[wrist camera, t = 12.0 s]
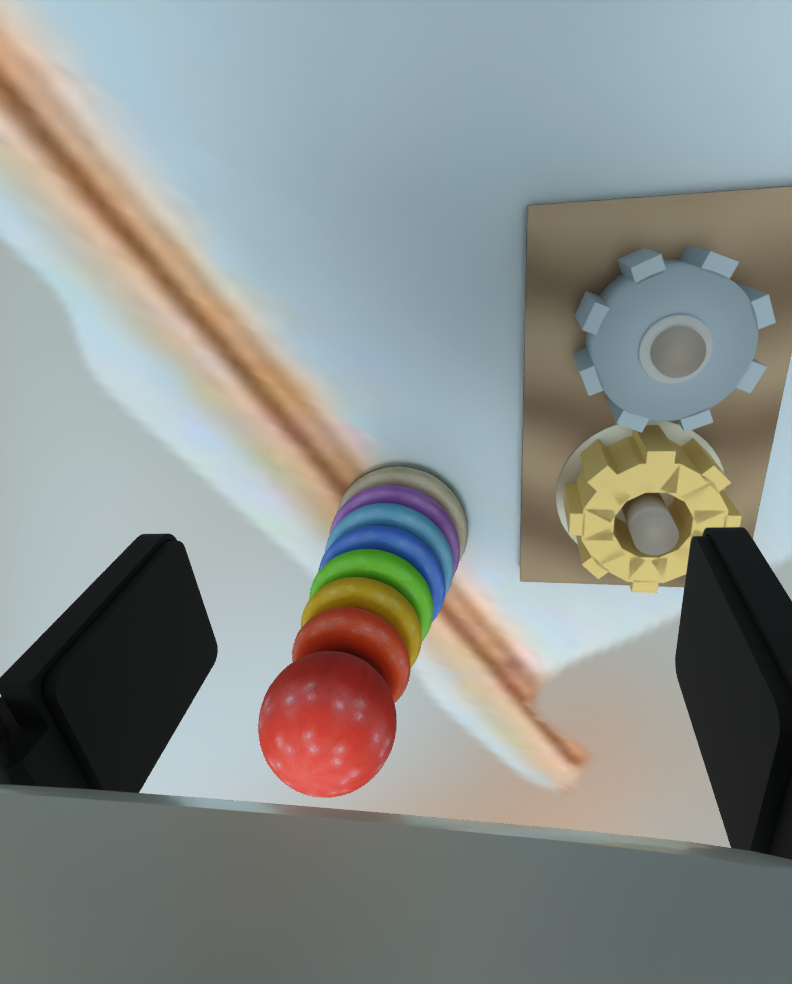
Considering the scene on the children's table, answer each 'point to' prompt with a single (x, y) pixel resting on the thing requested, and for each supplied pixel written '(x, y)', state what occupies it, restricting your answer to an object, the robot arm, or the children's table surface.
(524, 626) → the children's table surface
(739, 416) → the gear board
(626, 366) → the slate gear
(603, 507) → the ochre gear
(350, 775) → the stacking toy
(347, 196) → the children's table surface
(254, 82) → the children's table surface
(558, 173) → the children's table surface
